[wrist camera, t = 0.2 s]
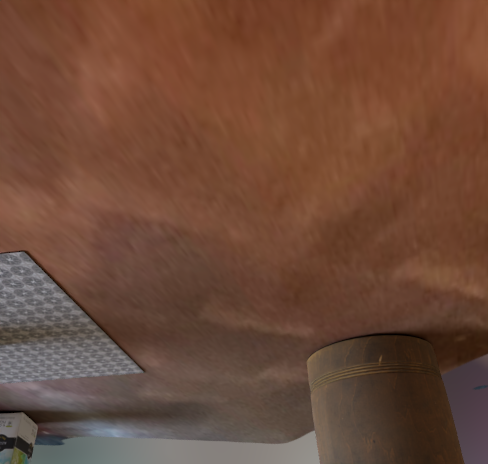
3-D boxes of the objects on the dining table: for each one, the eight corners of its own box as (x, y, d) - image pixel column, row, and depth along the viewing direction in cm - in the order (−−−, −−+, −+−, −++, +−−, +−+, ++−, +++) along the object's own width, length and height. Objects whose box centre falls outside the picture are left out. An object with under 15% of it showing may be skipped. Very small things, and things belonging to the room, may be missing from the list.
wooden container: (357, 380, 64) (392, 578, 52) (281, 361, 56) (301, 591, 44) (457, 350, 55) (527, 581, 43) (383, 322, 47) (444, 598, 34)
